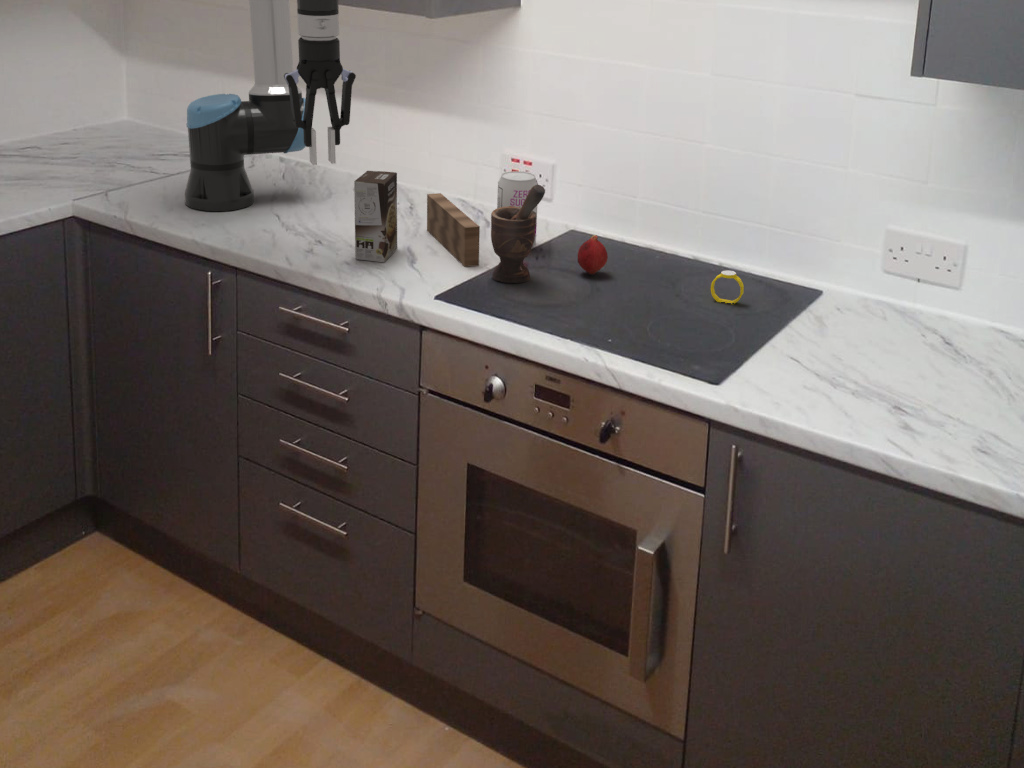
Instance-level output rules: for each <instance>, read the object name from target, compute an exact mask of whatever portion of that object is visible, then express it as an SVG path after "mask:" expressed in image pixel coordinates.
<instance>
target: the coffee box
mask: <svg viewBox="0 0 1024 768" xmlns="http://www.w3.org/2000/svg"><path fill="white" fill-rule="evenodd" d="M353 182H354V183H353V185H354V189H353V190H354V194H353V195H354V245H355V246H354V251H355V254H354V257H355V260H361V261H371V262H375V263H385V262H386V261H387V260H388V259H389V258H390V257H391V256H392V255H393V254H394V253H395V252H396V251H397V250H398V173H397V172H396V171H395V172H394V171H384V170H383V171H380V170H379V171H378V170H377V171H376V170H367V171H365V172H364V173H363V174H362V175H360V176H359V177H358V178H357V179H354V181H353Z"/></svg>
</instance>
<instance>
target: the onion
mask: <svg viewBox="0 0 1024 768" xmlns="http://www.w3.org/2000/svg"><path fill="white" fill-rule="evenodd" d="M598 238H599V237H598V236H597V234H596V235H595V234H594V235H592V236H591V237H590V238H589V239H587V240H586V241H584V242H583V243H582V244H581V246H579V249H578V251H577V263H578V266H579V267H581V268H582V270H584V271H585V272H587V273H588V274H589V275H595V274H596V273H597V272H598V271H600V270H601V269H602V268H603V267H605V266H606V265H607V264H606V263H607V262H608V252H607V249H606V247H605V245H604V244H603V243H602V242H601V241H599V240H598Z"/></svg>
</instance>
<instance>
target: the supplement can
mask: <svg viewBox="0 0 1024 768" xmlns="http://www.w3.org/2000/svg"><path fill="white" fill-rule="evenodd" d="M535 185H539V183H538V179H537V177H536V174H533V173H532V172H526V171H516V170H515V171H511V170H510V171H507V172H503V173H502V174H501V175H500V177H499V180H498V181H497V198H496V199H497V203H496V204H497V205H496V209H497V208H501V207H508V206H515V207H520V208H521V207H522V205H523V203H524V201H525V199H526V197H527V195H528V193H529V191H530V190H531V188H532V187H533V186H535ZM533 211H534V212H535V213H536V214H537V215H538V205H537V206H536V207H535V208H534V209H533ZM537 220H538V218H537V219H536V227H535V239H534V244H533V247H532V249H533V248H534V247H535V246H536V245H537V226H538V225H537V224H538V223H537V222H538V221H537Z"/></svg>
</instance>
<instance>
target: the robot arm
mask: <svg viewBox="0 0 1024 768" xmlns="http://www.w3.org/2000/svg"><path fill="white" fill-rule="evenodd" d="M248 6H249V19H250V20H249V21H250V34H251V49H252V60H253V74H254V75H253V76H254V84H253V86H252V87H251V88H250V90H249V91H248V100H246V101H242V98H240V95H238V94H235V93H227V94H226V93H217V94H212V95H207V96H202V97H200V98H197V99H195V100H193V101H192V102H190V103H189V105H188V106H187V108H186V128H187V131H188V132H187V134H188V136H187V137H188V150H189V162H190V171H189V175H188V178H187V179H188V180H187V183H186V188H185V191H184V201H185V202H184V203H185V205H186V206H187V207H189V208H191V209H195V210H199V211H205V212H228V211H229V212H230V211H235V210H240V209H245V208H247V207H249V206H252V205H253V204H254V202H255V194H254V189H253V187H252V184H251V181H250V179H249V177H248V174H247V171H246V168H245V156H248V155H249V156H250V155H264V154H266V155H267V154H277V153H278V154H279V153H283V154H288V153H293V152H300V151H303V150H304V149H305V148H309V150H308V151H309V162H310V163H311V164H312V166H317V164H318V161H317V159H318V157H317V156H318V155H317V153H318V152H317V131H316V129H315V128H314V127H313V121H314V120H313V119H314V112H315V105H316V104H315V102H316V95H317V91H318V90H319V89H324V92H325V97H326V102H327V106H328V107H327V109H328V113H329V119H330V124H331V126H327V154H328V155H327V156H328V159H327V160H328V161H329V162H330V164H332V165H335V164H337V162H336V161H337V160H336V146H339V145H341V129H342V127H344V126H348V125H349V124H350V121H351V108H352V107H351V105H352V92H353V90H352V89H353V84H354V83H355V79H356V77H357V75H356V73H354V72H353V71H351V70H347V69H345V68H344V67H343V65H342V62H341V50H340V44H341V43H340V41H341V40H340V39H339V38H338V36H340V20H339V17H340V16H339V15H340V14H339V13H340V11H339V0H296V7H297V8H296V11H297V12H296V13H297V16H296V17H297V34H298V36H300V37H299V39H298V43H297V44H298V63H297V66H296V69H295V70H294V60H293V59H294V57H293V56H294V55H293V44H292V43H293V39H292V28H291V27H292V26H291V10H290V0H248ZM340 76H341V80H342V85H341V103H340V116H339V110H338V105H337V104H338V103H337V98H336V97H337V96H336V89H335V83H336V82H337V81H338V79H339V78H340ZM299 77H300V78H301V79H302V80H303V82H304V83H305V85H306V86H305V97H303V92H302V90H301V89H300V88H299V86H297V85H298V83H299Z"/></svg>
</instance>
